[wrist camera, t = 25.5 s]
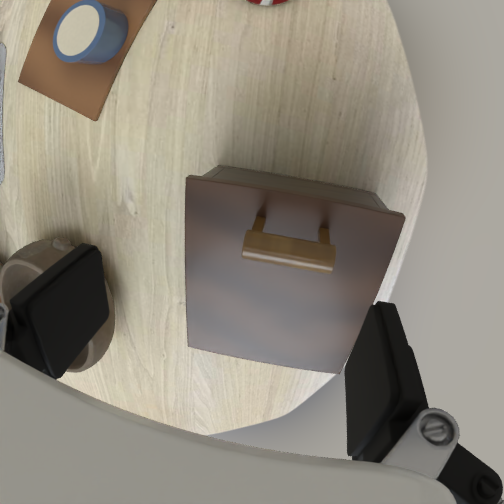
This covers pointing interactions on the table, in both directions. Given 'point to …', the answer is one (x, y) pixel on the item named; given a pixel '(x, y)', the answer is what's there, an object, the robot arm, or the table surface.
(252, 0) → the soda can
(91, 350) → the bowl
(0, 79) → the grey plastic case
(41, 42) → the plate
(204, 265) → the lid
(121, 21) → the blue beige short cylinder
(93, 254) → the robot arm
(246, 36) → the table surface
